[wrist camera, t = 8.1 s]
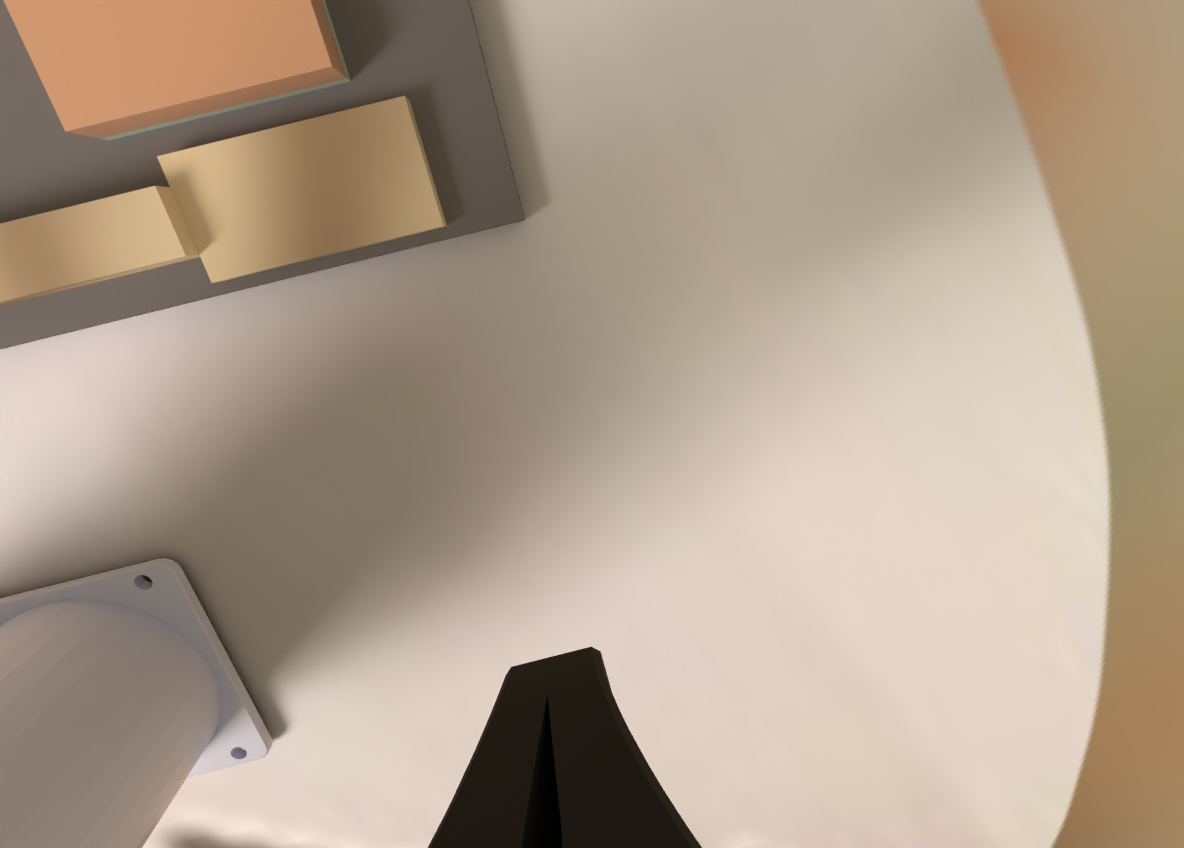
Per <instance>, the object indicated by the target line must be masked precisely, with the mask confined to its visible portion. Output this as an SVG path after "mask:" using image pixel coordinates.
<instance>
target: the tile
mask: <svg viewBox="0 0 1184 848" xmlns="http://www.w3.org/2000/svg"><path fill="white" fill-rule="evenodd" d="M3 1H4V3H5V5H6V7H7V9H8V11H9V13H10V15H11V18H12V20H13V22H14V24H15V26H16V28H17V30H18V32H19V34H20V37H21V39H22V41H23V43H24V45H25V47H26V49H27V51H28V54H29V56H30V58H31V60H32V62H33V64H34V66H35V68H36V70H37V73H38V75H39V77H40V79H41V81H42V83H43V85H44V87H45V90H46V92H47V94H48V96H49V98H50V100H51V102H52V104H53V106H54V109H55V111H56V113H57V115H58V117H59V119H60V121H61V123H62V126H63V128H64V130H65V132H70V133H75V134H80V135H85V136H89V137H94V138H99V139H104V140H113V139H117V138H121V137H125V136H129V135H133V134H137V133H141V132H146V131H150V130H154V129H158V128H162V127H166V126H170V125H174V124H178V123H182V122H186V121H191V120H195V119H199V118H203V117H207V116H211V115H215V114H219V113H223V112H227V111H232V110H236V109H240V108H244V107H248V106H252V105H256V104H260V103H264V102H268V101H272V100H277V99H281V98H285V97H289V96H293V95H297V94H301V93H305V92H309V91H313V90H318V89H322V88H326V87H330V86H334V85H338V84H342V83H346V82H350V81H351V80H350V77H349V73H348V70H347V67H346V64H345V61H344V58H343V55H342V52H341V49H340V46H339V42H338V39H337V36H336V33H335V30H334V27H333V24H332V21H331V18H330V15H329V11H328V8H327V5H326V2H325V0H3Z"/></svg>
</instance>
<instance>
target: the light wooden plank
mask: <svg viewBox="0 0 1184 848" xmlns="http://www.w3.org/2000/svg"><path fill="white" fill-rule="evenodd" d="M157 158H158V160H159V163H160V165H161V167H162V170H163V172H164V174H165V176H166V179H167V181H168V183H169V186H170V187H162V186H152V187H148V188H144V189H140V190H135V191H131V192H127V193H123V194H119V195H115V196H111V197H107V198H103V199H99V200H95V201H91V202H87V203H82V204H78V205H74V206H70V207H66V208H62V209H58V210H54V211H50V212H46V213H42V214H38V215H33V216H29V217H25V218H21V219H17V220H13V221H9V222H5V223H1V224H0V306H3V305H7V304H11V303H15V302H19V301H23V300H27V299H31V298H35V297H39V296H43V295H47V294H51V293H55V292H60V291H64V290H68V289H72V288H76V287H80V286H84V285H88V284H92V283H96V282H100V281H104V280H108V279H112V278H116V277H121V276H125V275H129V274H133V273H137V272H141V271H145V270H149V269H153V268H157V267H161V266H165V265H169V264H173V263H177V262H181V261H186V260H190V259H194V258H198V257H201V260H202V262H203V264H204V267H205V269H206V271H207V274H208V276H209V278H210V281H211V283H215V282H221V281H226V280H230V279H234V278H238V277H242V276H246V275H250V274H254V273H258V272H262V271H267V270H271V269H275V268H279V267H283V266H287V265H291V264H295V263H299V262H303V261H307V260H311V259H315V258H319V257H323V256H327V255H331V254H336V253H340V252H344V251H348V250H352V249H356V248H360V247H364V246H368V245H372V244H376V243H380V242H384V241H388V240H392V239H396V238H400V237H405V236H409V235H413V234H417V233H421V232H425V231H429V230H433V229H437V228H441V227H445V226H447V225H446V221H445V218H444V214H443V211H442V208H441V204H440V201H439V198H438V194H437V191H436V188H435V184H434V181H433V177H432V174H431V171H430V167H429V164H428V161H427V157H426V154H425V150H424V147H423V144H422V140H421V137H420V134H419V130H418V127H417V124H416V120H415V117H414V113H413V110H412V107H411V103H410V101H409V100H408V99H407V98H406V97H405V96H401V97H397V98H393V99H389V100H385V101H381V102H377V103H373V104H369V105H365V106H361V107H356V108H352V109H348V110H344V111H340V112H336V113H332V114H328V115H324V116H320V117H316V118H311V119H307V120H303V121H299V122H295V123H291V124H287V125H283V126H279V127H275V128H271V129H266V130H262V131H258V132H254V133H250V134H246V135H242V136H238V137H234V138H230V139H226V140H222V141H217V142H213V143H209V144H205V145H201V146H197V147H193V148H189V149H185V150H181V151H177V152H172V153H168V154H164V155H160V156H157Z"/></svg>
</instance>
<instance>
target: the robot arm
mask: <svg viewBox="0 0 1184 848" xmlns="http://www.w3.org/2000/svg"><path fill="white" fill-rule="evenodd" d="M142 575H145V576H148V577H149V578H150V579H151V580H152V583H150V582H148V581H146V580H145V579H144V578H143V576H142ZM272 743H273V742H272V738H271V736H270V734H269V732H268V730H267V728H266V727H265V725H264V723H263V721H262V719H261V717H260V715H259V713H258V711H257V710H256V708H255V706H254V704H253V702H252V700H251V698H250V696H249V694H248V693H247V691H246V689H245V687H244V685H243V683H242V681H241V679H240V677H239V676H238V674H237V672H236V670H235V668H234V666H233V664H232V662H231V660H230V659H229V657H228V655H227V653H226V651H225V649H224V647H223V645H222V643H221V642H220V640H219V638H218V636H217V634H216V632H215V630H214V628H213V626H212V625H211V623H210V621H209V619H208V617H207V615H206V613H205V611H204V609H203V608H202V606H201V604H200V602H199V600H198V598H197V596H196V594H195V592H194V591H193V589H192V587H191V585H190V583H189V581H188V579H187V577H186V575H185V574H184V572H183V570H182V568H181V567H180V566H179V564H178V563H176V562H175V561H173V560H171V559H167V558H161V559H155V560H151V561H147V562H143V563H139V564H135V565H131V566H127V567H123V568H119V569H115V570H111V571H107V572H103V573H99V574H95V575H91V576H87V577H83V578H79V579H75V580H71V581H67V582H63V583H59V584H55V585H51V586H47V587H43V588H39V589H35V590H31V591H27V592H23V593H19V594H15V595H11V596H7V597H3V598H0V848H142V847H143V845H144V843H145V842H146V840H147V839H148V837H149V836H150V834H151V833H152V831H153V829H154V828H155V826H156V825H157V823H158V822H159V820H160V819H161V817H162V815H163V814H164V812H165V811H166V809H167V808H168V806H169V804H170V803H171V801H172V800H173V798H174V797H175V795H176V794H177V792H178V790H179V789H180V787H181V786H182V784H183V783H184V781H185V780H186V778H187V777H191V776H195V775H199V774H203V773H207V772H211V771H215V770H219V769H223V768H227V767H231V766H235V765H239V764H243V763H247V762H251V761H255V760H259V759H261V758H263V757H265V756H266V755H267V754H268V752H269V750H270V748H271V746H272ZM238 747H241V748H243V749H245V750H243V749H240V748H238ZM428 848H702V847H701V846H700V844H699V843H698V841H697V840H696V839H695V837H694V836H693V834H692V833H691V831H690V830H689V828H688V827H687V825H686V824H685V822H684V821H683V819H682V818H681V816H680V815H679V813H678V812H677V810H676V809H675V807H674V805H673V804H672V802H671V801H670V799H669V798H668V796H667V795H666V793H665V791H664V790H663V788H662V787H661V785H660V783H659V782H658V780H657V778H656V777H655V775H654V773H653V772H652V770H651V768H650V767H649V765H648V763H647V761H646V760H645V758H644V756H643V754H642V752H641V751H640V749H639V747H638V745H637V743H636V741H635V740H634V738H633V736H632V734H631V732H630V731H629V729H628V727H627V725H626V723H625V721H624V719H623V717H622V715H621V712H620V710H619V708H618V706H617V703H616V701H615V699H614V697H613V694H612V691H611V688H610V684H609V681H608V677H607V673H606V670H605V666H604V663H603V659H602V655H601V652H600V651H598V650H597V649H595V648H593V647H589V648H585V649H581V650H577V651H573V652H569V653H565V654H561V655H557V656H553V657H549V658H545V659H541V660H537V661H533V662H529V663H525V664H521V665H517V666H513V667H511V668H510V670H509V671H508V673H507V674H506V676H505V679H504V682H503V684H502V687H501V689H500V692H499V694H498V697H497V700H496V702H495V705H494V707H493V709H492V712H491V714H490V717H489V719H488V722H487V724H486V726H485V729H484V731H483V733H482V736H481V738H480V740H479V743H478V745H477V747H476V750H475V752H474V754H473V756H472V758H471V760H470V763H469V765H468V767H467V769H466V771H465V773H464V776H463V778H462V780H461V782H460V784H459V786H458V789H457V791H456V793H455V795H454V797H453V799H452V801H451V803H450V806H449V808H448V810H447V812H446V814H445V816H444V818H443V820H442V822H441V823H440V825H439V827H438V829H437V831H436V833H435V835H434V837H433V839H432V841H431V843H430V845H429V846H428Z"/></svg>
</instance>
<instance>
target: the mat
mask: <svg viewBox="0 0 1184 848" xmlns="http://www.w3.org/2000/svg"><path fill="white" fill-rule="evenodd" d="M325 2H326V5H327V8H328V11H329V15H330V18H331V21H332V24H333V27H334V30H335V33H336V36H337V39H338V42H339V46H340V49H341V52H342V55H343V58H344V61H345V64H346V67H347V70H348V73H349V77H350V80H351V81H350V82H346V83H342V84H338V85H334V86H330V87H326V88H322V89H318V90H313V91H309V92H305V93H301V94H297V95H293V96H289V97H285V98H281V99H277V100H272V101H268V102H264V103H260V104H256V105H252V106H248V107H244V108H240V109H236V110H232V111H227V112H223V113H219V114H215V115H211V116H207V117H203V118H199V119H195V120H191V121H186V122H182V123H178V124H174V125H170V126H166V127H162V128H158V129H154V130H150V131H146V132H141V133H137V134H133V135H129V136H125V137H121V138H117V139H113V140H104V139H99V138H94V137H89V136H85V135H80V134H75V133H70V132H65V130H64V128H63V126H62V123H61V121H60V119H59V117H58V115H57V113H56V111H55V109H54V106H53V104H52V102H51V100H50V98H49V96H48V94H47V92H46V90H45V87H44V85H43V83H42V81H41V79H40V77H39V75H38V73H37V70H36V68H35V66H34V64H33V62H32V60H31V58H30V56H29V54H28V51H27V49H26V47H25V45H24V43H23V41H22V39H21V37H20V34H19V32H18V30H17V28H16V26H15V24H14V22H13V20H12V18H11V15H10V13H9V11H8V9H7V7H6V5H5V3H4V1H3V0H0V224H1V223H5V222H9V221H13V220H17V219H21V218H25V217H29V216H33V215H38V214H42V213H46V212H50V211H54V210H58V209H62V208H66V207H70V206H74V205H78V204H82V203H87V202H91V201H95V200H99V199H103V198H107V197H111V196H115V195H119V194H123V193H127V192H131V191H135V190H140V189H144V188H148V187H152V186H162V187H170V186H169V183H168V181H167V179H166V176H165V174H164V172H163V170H162V167H161V165H160V163H159V160H158V158H157V156H160V155H164V154H168V153H172V152H177V151H181V150H185V149H189V148H193V147H197V146H201V145H205V144H209V143H213V142H217V141H222V140H226V139H230V138H234V137H238V136H242V135H246V134H250V133H254V132H258V131H262V130H266V129H271V128H275V127H279V126H283V125H287V124H291V123H295V122H299V121H303V120H307V119H311V118H316V117H320V116H324V115H328V114H332V113H336V112H340V111H344V110H348V109H352V108H356V107H361V106H365V105H369V104H373V103H377V102H381V101H385V100H389V99H393V98H397V97H401V96H405V97H406V98H407V99H408V100H409V101H410V103H411V107H412V110H413V113H414V117H415V120H416V124H417V127H418V130H419V134H420V137H421V140H422V144H423V147H424V150H425V154H426V157H427V161H428V164H429V167H430V171H431V174H432V177H433V181H434V184H435V188H436V191H437V194H438V198H439V201H440V204H441V208H442V211H443V214H444V218H445V221H446V225H447V226H445V227H441V228H437V229H433V230H429V231H425V232H421V233H417V234H413V235H409V236H405V237H400V238H396V239H392V240H388V241H384V242H380V243H376V244H372V245H368V246H364V247H360V248H356V249H352V250H348V251H344V252H340V253H336V254H331V255H327V256H323V257H319V258H315V259H311V260H307V261H303V262H299V263H295V264H291V265H287V266H283V267H279V268H275V269H271V270H267V271H262V272H258V273H254V274H250V275H246V276H242V277H238V278H234V279H230V280H226V281H221V282H215V283H211V281H210V278H209V276H208V274H207V271H206V269H205V267H204V264H203V262H202V260H201V257H198V258H194V259H190V260H186V261H181V262H177V263H173V264H169V265H165V266H161V267H157V268H153V269H149V270H145V271H141V272H137V273H133V274H129V275H125V276H121V277H116V278H112V279H108V280H104V281H100V282H96V283H92V284H88V285H84V286H80V287H76V288H72V289H68V290H64V291H60V292H55V293H51V294H47V295H43V296H39V297H35V298H31V299H27V300H23V301H19V302H15V303H11V304H7V305H3V306H0V349H4V348H8V347H12V346H16V345H20V344H24V343H28V342H32V341H36V340H40V339H44V338H48V337H52V336H56V335H60V334H64V333H68V332H73V331H77V330H81V329H85V328H89V327H93V326H97V325H101V324H105V323H109V322H113V321H117V320H121V319H125V318H129V317H133V316H137V315H141V314H146V313H150V312H154V311H158V310H162V309H166V308H170V307H174V306H178V305H182V304H186V303H190V302H194V301H198V300H202V299H206V298H210V297H214V296H219V295H223V294H227V293H231V292H235V291H239V290H243V289H247V288H251V287H255V286H259V285H263V284H267V283H271V282H275V281H279V280H283V279H287V278H292V277H296V276H300V275H304V274H308V273H312V272H316V271H320V270H324V269H328V268H332V267H336V266H340V265H344V264H348V263H352V262H356V261H360V260H365V259H369V258H373V257H377V256H381V255H385V254H389V253H393V252H397V251H401V250H405V249H409V248H413V247H417V246H421V245H425V244H429V243H433V242H438V241H442V240H446V239H450V238H454V237H458V236H462V235H466V234H470V233H474V232H478V231H482V230H486V229H490V228H494V227H498V226H502V225H506V224H511V223H515V222H519V221H523V220H525V219H524V215H523V211H522V207H521V203H520V199H519V195H518V191H517V187H516V184H515V180H514V176H513V172H512V168H511V164H510V160H509V156H508V152H507V148H506V144H505V140H504V137H503V133H502V129H501V125H500V121H499V117H498V113H497V109H496V105H495V101H494V97H493V94H492V90H491V86H490V82H489V78H488V74H487V70H486V66H485V62H484V58H483V54H482V50H481V47H480V43H479V39H478V35H477V31H476V27H475V23H474V19H473V15H472V11H471V7H470V3H469V0H325Z"/></svg>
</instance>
